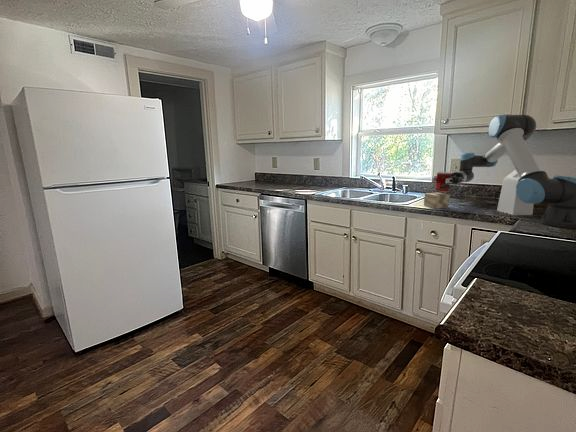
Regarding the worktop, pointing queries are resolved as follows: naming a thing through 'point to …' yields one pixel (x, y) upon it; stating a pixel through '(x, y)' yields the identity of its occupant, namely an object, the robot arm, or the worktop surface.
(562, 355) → the worktop surface
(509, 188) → the milk
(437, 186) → the canned food
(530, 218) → the worktop surface
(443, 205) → the maple brick
